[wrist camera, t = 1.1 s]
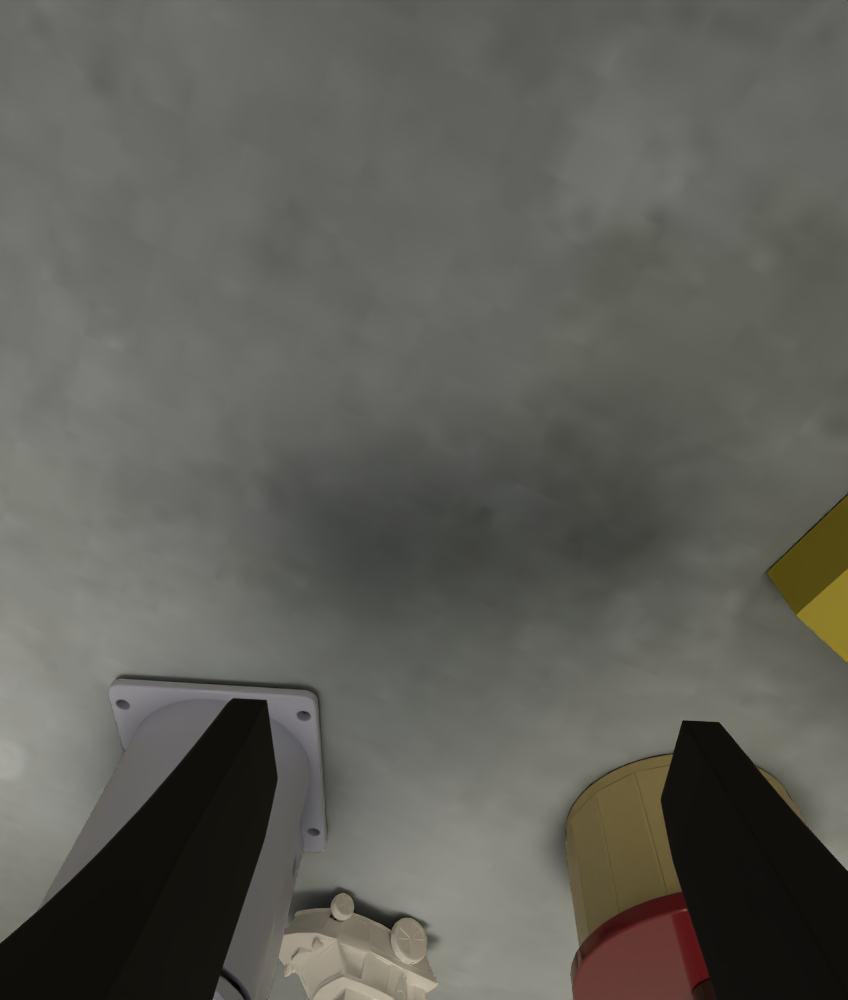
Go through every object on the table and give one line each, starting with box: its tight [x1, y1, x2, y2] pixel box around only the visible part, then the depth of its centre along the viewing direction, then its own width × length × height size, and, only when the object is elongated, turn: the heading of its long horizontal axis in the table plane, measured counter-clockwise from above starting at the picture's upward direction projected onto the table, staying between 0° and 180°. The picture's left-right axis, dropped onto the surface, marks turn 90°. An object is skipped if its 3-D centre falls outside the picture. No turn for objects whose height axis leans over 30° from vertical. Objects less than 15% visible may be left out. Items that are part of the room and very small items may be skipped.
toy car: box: [278, 893, 438, 1000], centre depth 31 cm, size 5×8×4 cm, turn 58°
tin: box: [565, 754, 807, 947], centre depth 25 cm, size 9×9×6 cm
